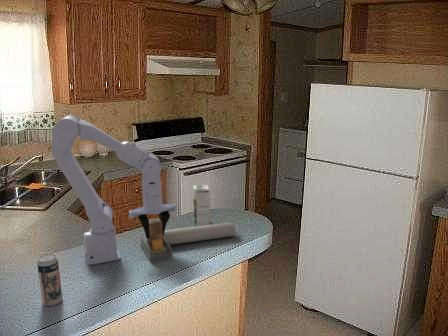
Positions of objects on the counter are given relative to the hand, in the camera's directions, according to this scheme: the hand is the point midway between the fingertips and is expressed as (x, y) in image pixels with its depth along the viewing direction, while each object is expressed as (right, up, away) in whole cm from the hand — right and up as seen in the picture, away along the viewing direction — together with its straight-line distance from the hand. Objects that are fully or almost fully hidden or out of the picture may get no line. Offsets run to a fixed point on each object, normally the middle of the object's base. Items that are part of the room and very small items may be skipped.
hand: (154, 235), depth 132 cm
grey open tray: (0, -5, +1) cm, 5 cm away
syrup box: (+14, 0, +22) cm, 26 cm away
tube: (+13, -3, +9) cm, 16 cm away
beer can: (-21, -13, -26) cm, 36 cm away
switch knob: (+1, -4, -1) cm, 5 cm away
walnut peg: (0, -3, +1) cm, 3 cm away
